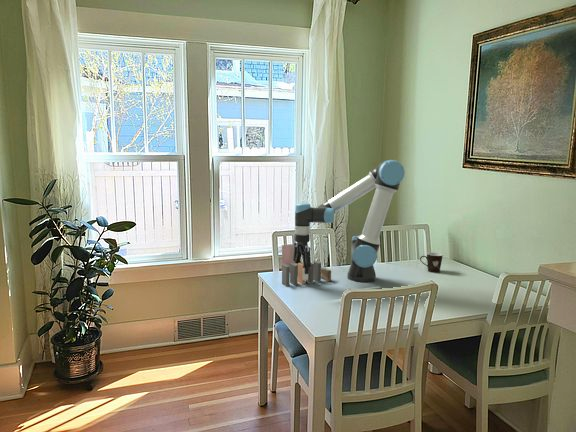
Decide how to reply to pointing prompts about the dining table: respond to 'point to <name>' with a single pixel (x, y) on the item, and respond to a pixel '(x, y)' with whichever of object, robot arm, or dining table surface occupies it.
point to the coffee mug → (433, 262)
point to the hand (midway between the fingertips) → (301, 277)
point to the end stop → (326, 274)
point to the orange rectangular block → (300, 273)
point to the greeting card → (288, 254)
